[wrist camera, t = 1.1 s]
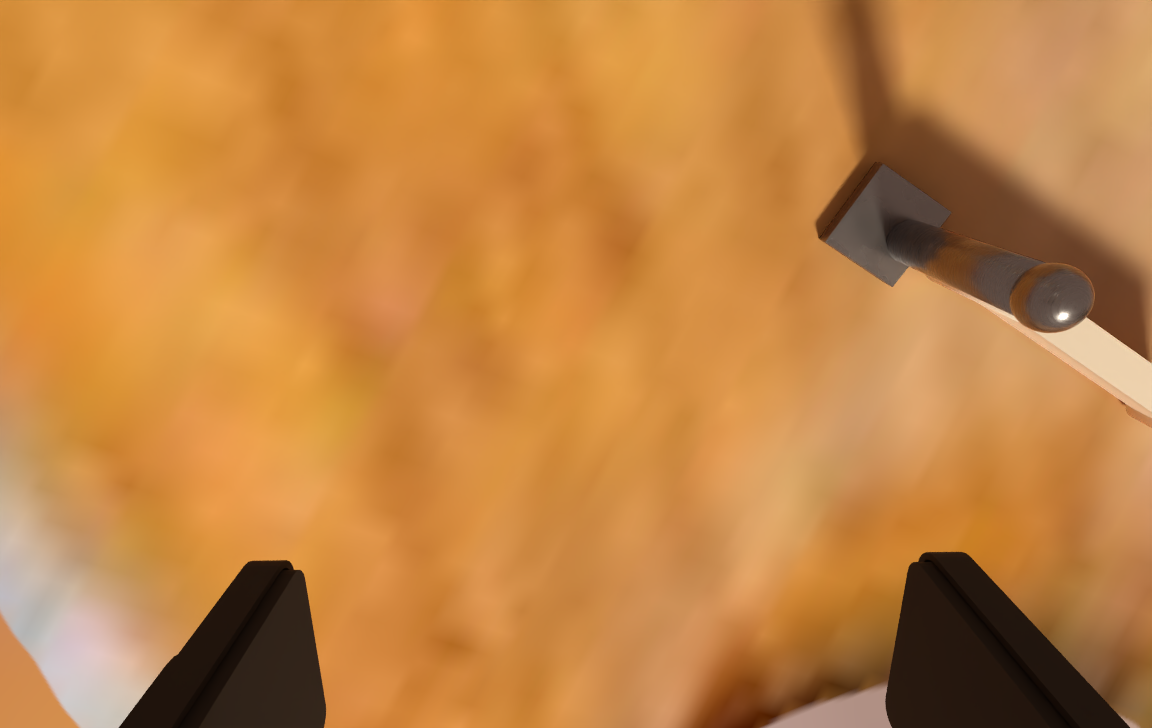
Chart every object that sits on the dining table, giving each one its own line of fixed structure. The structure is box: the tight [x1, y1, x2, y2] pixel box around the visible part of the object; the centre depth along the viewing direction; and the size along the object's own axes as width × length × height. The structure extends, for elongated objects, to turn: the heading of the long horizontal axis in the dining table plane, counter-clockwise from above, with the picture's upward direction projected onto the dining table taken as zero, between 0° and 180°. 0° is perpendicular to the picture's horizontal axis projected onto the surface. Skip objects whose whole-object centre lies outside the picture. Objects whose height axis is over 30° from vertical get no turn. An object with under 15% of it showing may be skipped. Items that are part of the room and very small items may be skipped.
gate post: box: [819, 162, 1095, 333], centre depth 32 cm, size 5×5×15 cm
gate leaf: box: [926, 275, 1152, 428], centre depth 37 cm, size 2×19×8 cm, turn 58°
